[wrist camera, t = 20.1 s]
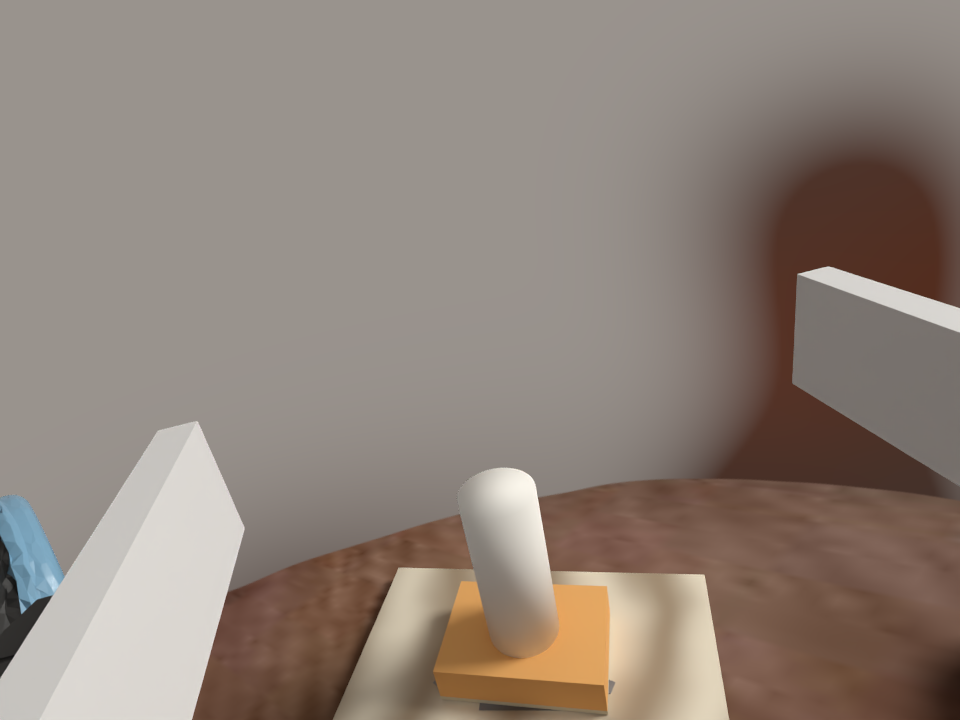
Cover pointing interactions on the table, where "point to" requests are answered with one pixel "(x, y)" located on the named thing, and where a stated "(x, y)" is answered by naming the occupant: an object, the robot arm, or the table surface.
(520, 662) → the block
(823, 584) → the table surface
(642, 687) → the plywood board
